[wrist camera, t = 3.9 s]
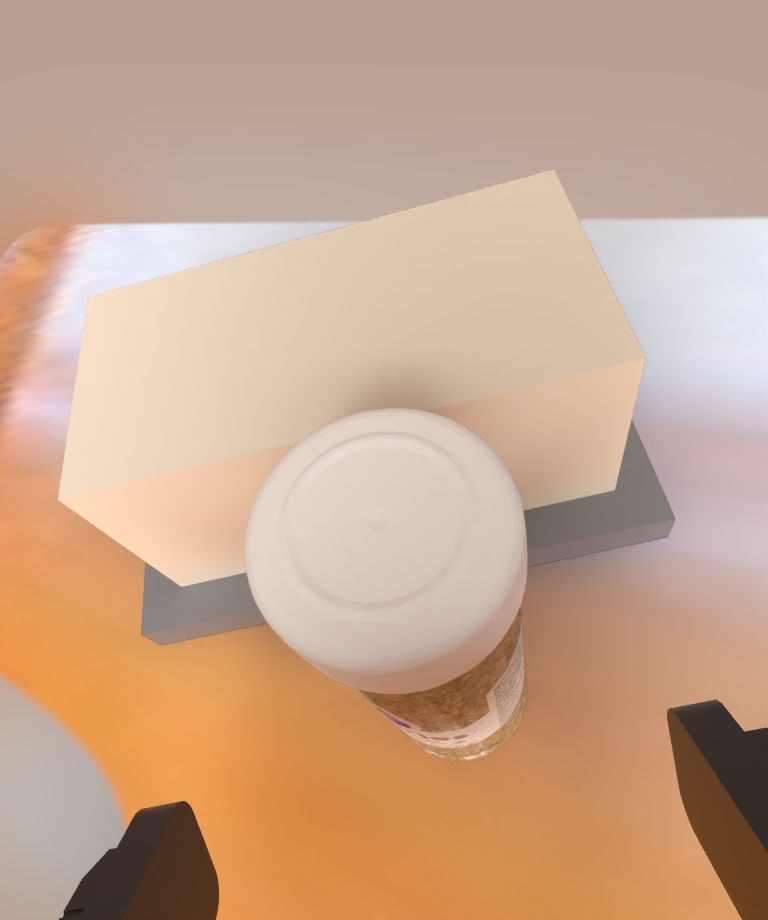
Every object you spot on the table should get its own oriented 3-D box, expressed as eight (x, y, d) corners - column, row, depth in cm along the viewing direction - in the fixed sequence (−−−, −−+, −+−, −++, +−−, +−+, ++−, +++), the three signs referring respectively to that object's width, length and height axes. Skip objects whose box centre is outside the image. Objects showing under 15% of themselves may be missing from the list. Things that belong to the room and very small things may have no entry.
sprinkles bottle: (371, 729, 21) (182, 605, 10) (421, 603, 23) (311, 373, 11) (505, 789, 19) (466, 723, 8) (547, 647, 21) (563, 430, 10)
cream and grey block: (572, 314, 28) (586, 129, 21) (667, 537, 22) (733, 389, 15) (171, 414, 30) (53, 277, 22) (161, 645, 24) (-2, 561, 17)
